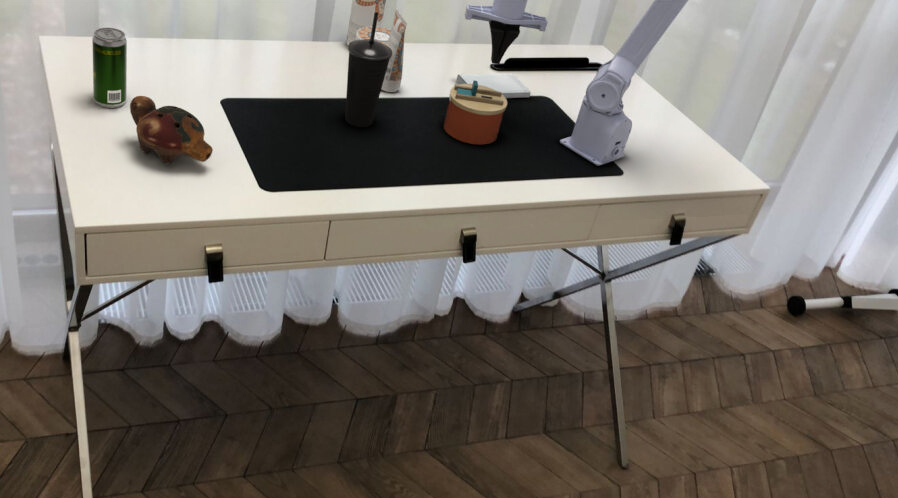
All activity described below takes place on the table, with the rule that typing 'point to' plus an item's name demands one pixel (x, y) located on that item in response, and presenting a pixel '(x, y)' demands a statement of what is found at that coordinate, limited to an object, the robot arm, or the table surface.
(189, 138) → the decorative turtle
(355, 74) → the drinking cup
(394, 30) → the cosmetic set
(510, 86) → the hard drive
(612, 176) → the table surface
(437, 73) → the table surface
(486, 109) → the brown and beige cylinder
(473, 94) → the slider
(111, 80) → the beer can
